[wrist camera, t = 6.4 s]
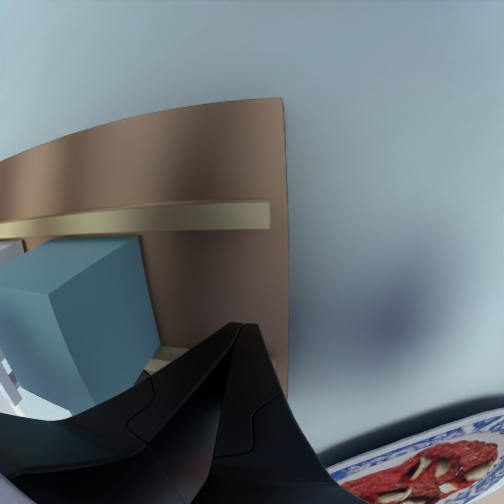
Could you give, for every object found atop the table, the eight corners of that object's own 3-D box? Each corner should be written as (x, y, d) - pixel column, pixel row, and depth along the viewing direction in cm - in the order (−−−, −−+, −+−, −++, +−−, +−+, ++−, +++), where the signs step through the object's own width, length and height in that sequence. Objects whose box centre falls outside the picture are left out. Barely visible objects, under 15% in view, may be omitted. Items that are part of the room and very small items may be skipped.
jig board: (283, 103, 10) (279, 91, 8) (287, 399, 14) (283, 430, 12) (-13, 171, 13) (-37, 177, 11) (36, 351, 17) (20, 366, 15)
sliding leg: (137, 235, 11) (47, 294, 6) (178, 402, 14) (142, 477, 9) (53, 238, 11) (-27, 281, 7) (103, 385, 14) (60, 443, 10)
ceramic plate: (483, 325, 11) (508, 359, 9) (545, 429, 14) (553, 446, 11) (216, 489, 21) (209, 514, 18) (375, 528, 23) (375, 545, 20)
